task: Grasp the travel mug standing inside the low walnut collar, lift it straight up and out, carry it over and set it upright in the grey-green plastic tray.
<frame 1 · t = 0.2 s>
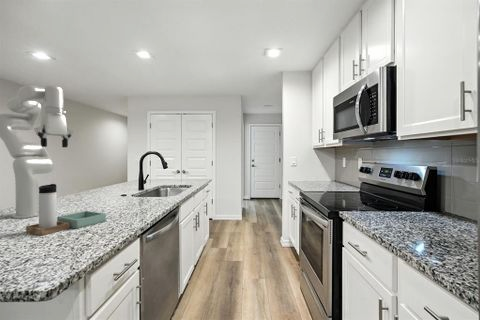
hand: (54, 147, 128), 37 cm above the countertop, tool pointing down, fingers open, 9 cm apart
collar: (48, 230, 114), on the countertop
travel mug: (48, 230, 114), resting in collar
tray: (82, 223, 126), on the countertop
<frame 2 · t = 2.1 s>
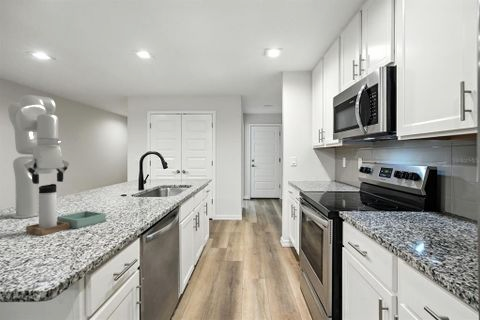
hand: (48, 182, 113), 21 cm above the countertop, tool pointing down, fingers open, 9 cm apart
nothing on the countertop moved.
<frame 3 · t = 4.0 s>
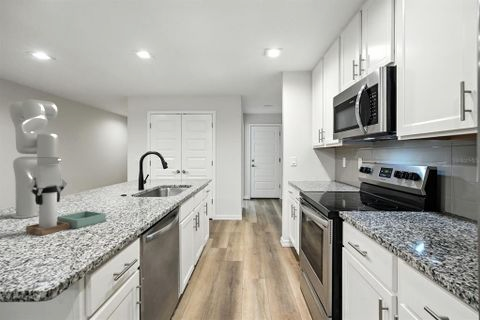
hand: (48, 202, 114), 12 cm above the countertop, tool pointing down, fingers closed on travel mug, 6 cm apart
travel mug: (48, 230, 114), resting in collar, touching gripper
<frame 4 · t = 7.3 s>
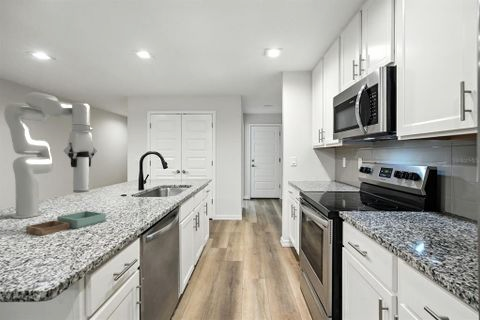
hand: (81, 166, 125), 27 cm above the countertop, tool pointing down, fingers closed on travel mug, 6 cm apart
travel mug: (81, 192, 125), point 15 cm above the countertop, touching gripper
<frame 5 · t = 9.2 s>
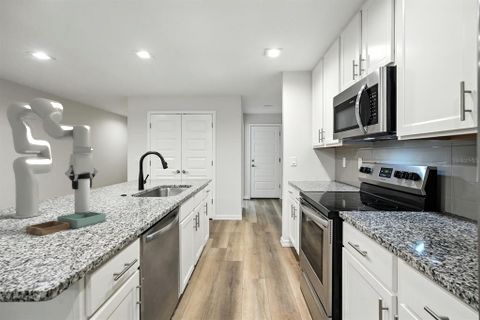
hand: (82, 188, 126), 17 cm above the countertop, tool pointing down, fingers closed on travel mug, 6 cm apart
travel mug: (82, 213, 126), point 5 cm above the countertop, touching gripper
when the fingers open (14 cm above the countertop, at t = 10.7 s): travel mug drops 1 cm, resting on tray.
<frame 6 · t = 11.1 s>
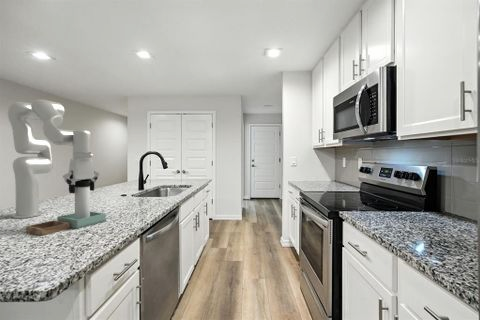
hand: (82, 191, 126), 15 cm above the countertop, tool pointing down, fingers open, 9 cm apart
travel mug: (82, 221, 126), point 1 cm above the countertop, touching tray
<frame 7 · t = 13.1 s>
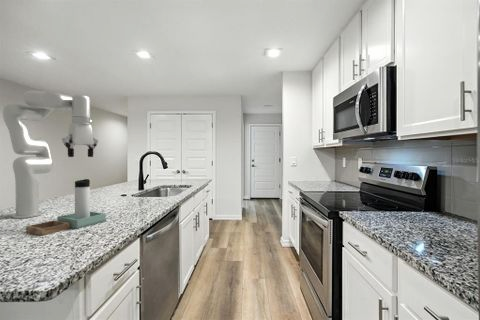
hand: (81, 156, 126), 32 cm above the countertop, tool pointing down, fingers open, 9 cm apart
nothing on the countertop moved.
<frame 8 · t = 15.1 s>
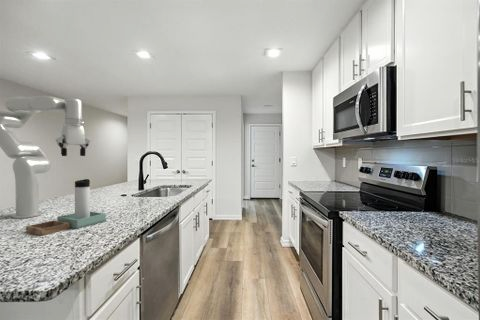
hand: (73, 155, 136), 32 cm above the countertop, tool pointing down, fingers open, 9 cm apart
nothing on the countertop moved.
at the end: travel mug inside the target area on the tray (0.4 cm from its centre), point 0.8 cm above the tray's base; travel mug tilted 0°; the gripper is holding nothing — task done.
